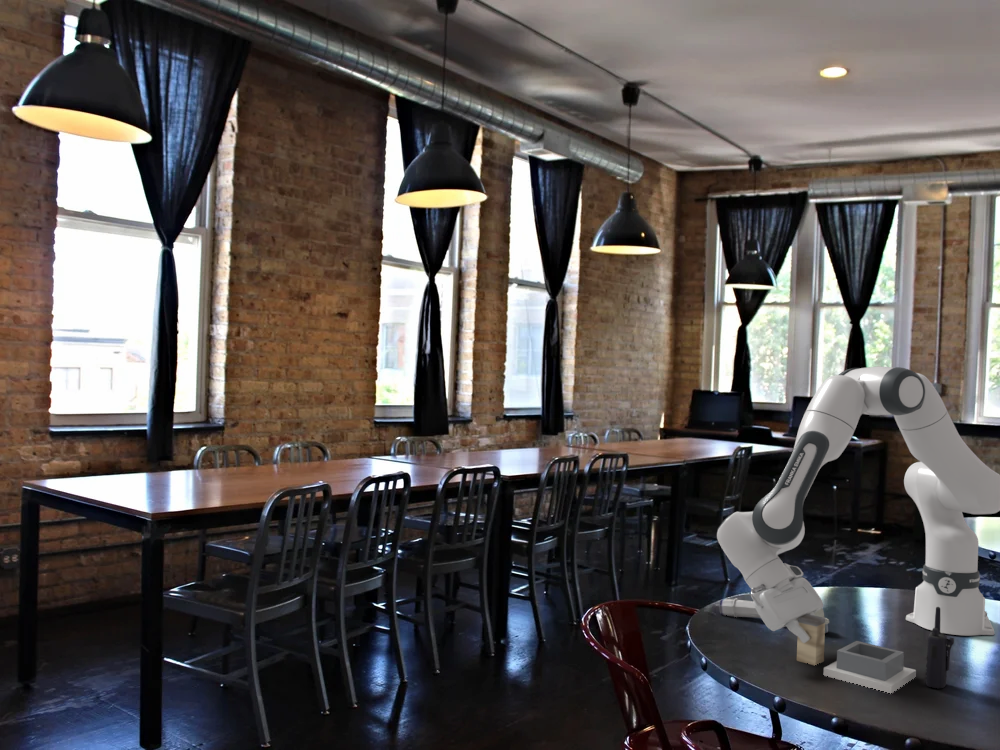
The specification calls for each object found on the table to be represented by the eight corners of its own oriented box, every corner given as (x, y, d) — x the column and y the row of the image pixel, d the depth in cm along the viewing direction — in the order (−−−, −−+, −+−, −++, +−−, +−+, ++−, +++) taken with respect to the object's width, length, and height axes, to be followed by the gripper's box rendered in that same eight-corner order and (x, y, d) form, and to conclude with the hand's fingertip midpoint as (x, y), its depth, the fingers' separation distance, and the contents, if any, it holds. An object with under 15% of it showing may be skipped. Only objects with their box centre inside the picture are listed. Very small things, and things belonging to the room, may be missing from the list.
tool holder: (850, 660, 184) (851, 636, 183) (915, 677, 175) (916, 652, 174) (823, 675, 174) (824, 650, 174) (890, 694, 165) (891, 667, 165)
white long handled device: (725, 596, 218) (829, 600, 204) (728, 623, 218) (832, 629, 204) (717, 600, 214) (823, 605, 200) (720, 628, 214) (826, 634, 199)
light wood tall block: (805, 656, 186) (806, 613, 185) (823, 661, 183) (825, 618, 183) (796, 660, 183) (798, 617, 183) (815, 665, 180) (816, 621, 180)
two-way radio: (928, 679, 174) (931, 603, 173) (954, 684, 171) (957, 607, 171) (923, 687, 169) (926, 609, 169) (949, 693, 167) (952, 614, 166)
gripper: (757, 581, 180) (801, 640, 173) (802, 566, 195) (845, 620, 188) (737, 598, 183) (779, 657, 176) (783, 582, 198) (824, 636, 191)
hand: (814, 638), depth 182 cm, fingers closed on light wood tall block, 4 cm apart
